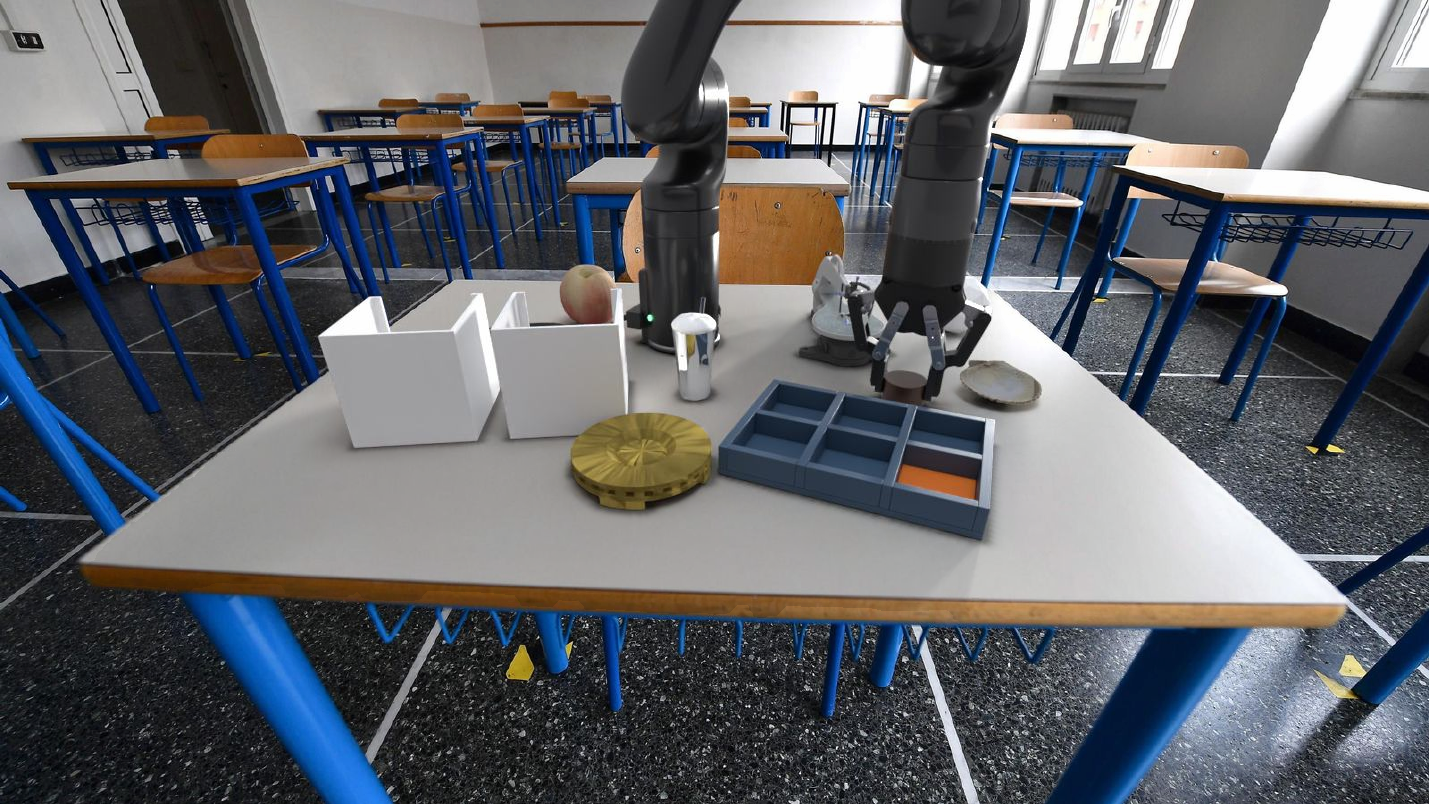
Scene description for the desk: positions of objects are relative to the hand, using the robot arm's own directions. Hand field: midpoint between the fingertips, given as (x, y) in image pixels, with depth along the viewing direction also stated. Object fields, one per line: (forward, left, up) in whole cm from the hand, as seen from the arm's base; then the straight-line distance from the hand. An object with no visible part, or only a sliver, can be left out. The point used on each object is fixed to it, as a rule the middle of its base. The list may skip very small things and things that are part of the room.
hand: (903, 392), depth 63 cm
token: (0, 0, -1) cm, 1 cm away
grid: (-2, -13, -1) cm, 13 cm away
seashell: (+9, +6, -1) cm, 11 cm away
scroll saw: (-11, +15, -1) cm, 19 cm away
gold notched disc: (-19, -22, -1) cm, 29 cm away
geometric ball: (+3, +25, -1) cm, 25 cm away
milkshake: (-21, -7, -1) cm, 22 cm away
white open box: (-37, -19, -1) cm, 41 cm away
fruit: (-44, +7, -1) cm, 44 cm away
